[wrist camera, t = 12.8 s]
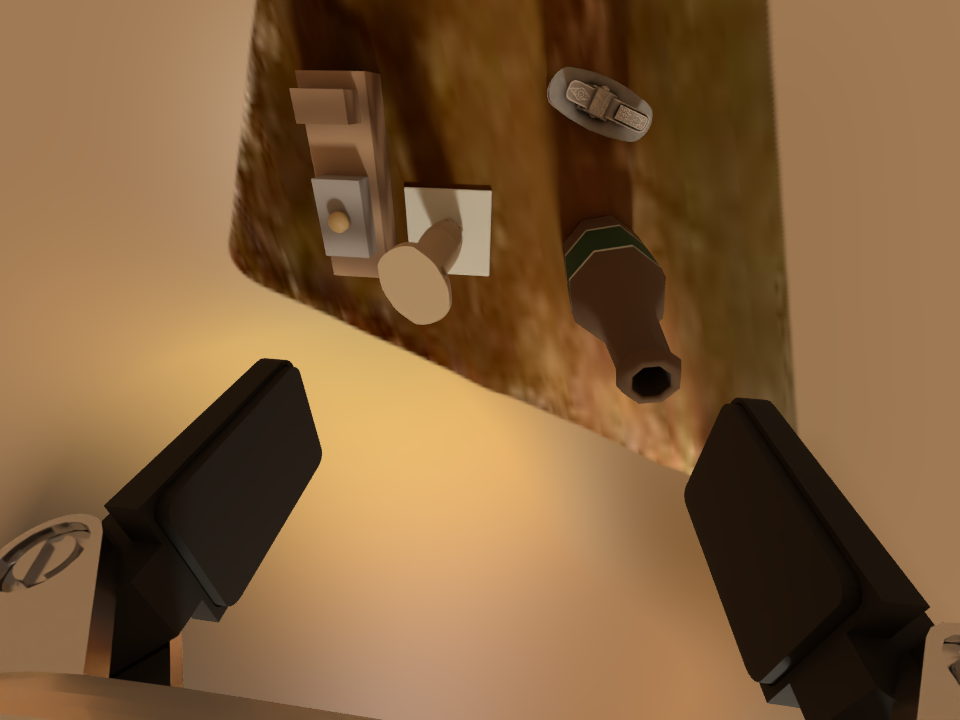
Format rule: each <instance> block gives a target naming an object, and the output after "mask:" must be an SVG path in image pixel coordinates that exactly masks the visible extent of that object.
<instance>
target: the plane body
mask: <svg viewBox="0 0 960 720" xmlns="http://www.w3.org/2000/svg"><path fill="white" fill-rule="evenodd" d="M295 73H296V78H297V83H298V88H289V89H290V94H291V99H292V103H293V108H294V113H295V118H296V123H297V124H305V125H306V130H307V135H308V140H309V146H310V151H311V156H312V161H313V166H314V172H315V178H312V179H311V180H312V185H313V190H314V195H315V200H316V206H317V211H318V216H319V221H320V226H321V231H322V236H323V241H324V246H325V251H326V256H331V260H332V265H333V270H334V275H343V276H359V277H375V278H379V272H378V266H377V265H378V263H379V261H380V259H381V258H382V256H383V255H384V254H385V253H386V252H387V251H389V250H390V249H391V248H393V247H394V246H396V245H397V241H396V230H395V220H394V210H393V200H392V190H391V179H390V169H389V159H388V149H387V139H386V128H385V118H384V108H383V98H382V88H381V77H380V74H379V73H373V72H367V71H323V70H295Z"/></svg>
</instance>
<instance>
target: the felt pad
mask: <svg viewBox="0 0 960 720" xmlns="http://www.w3.org/2000/svg"><path fill="white" fill-rule="evenodd" d="M404 191H405V203H406V216H407V228H408V240H409V242H415V243H418V241H419V240H420V238H421V236H422V235H423V234H424V232H425V231H426V230H427V229H428V228H429V227H431V226H432V225H433V224H435V223H437V222H440V221H443V220H444V219H445V218H451V220H452V221H453V222H455V223H457V224H460V225H461V226H462V228H463V232H462V238H463V241H462V248H461V252H460V254H459V257H458V259H457V261H456V262H455V264H454V265H453V267H452V268H451V269H450V271H449V272H448V273H447V274H460V275H477V276H489V268H490V236H491V204H492V190H470V189H446V188H422V187H404Z"/></svg>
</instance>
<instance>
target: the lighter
mask: <svg viewBox="0 0 960 720" xmlns="http://www.w3.org/2000/svg"><path fill="white" fill-rule="evenodd" d="M547 98H548V101H549V103H550V104H551V105H552V106H553V107H554V108H555V109H557V110H558V111H559V112H561V113H562V114H563V115H564V116H566V117H568V118H569V119H571V120H572V121H574V122H576V123H578V124H579V125H581V126H583V127H585V128H586V129H588V130H590V131H593V132H595V133H598V134H601V135H603V136H606V137H609V138H613V139H618V140H623V141H627V142H634V141H636V140H639V139H640V138H641V137H642V136H644V135H645V133H646V132H647V131H648V129H649V127H650V125H651V122H652V110H651V108H650V106H649V105H648V104H647V103H646V102H645V101H644V100H642V99H641V98H640V97H639V96H638V95H636V94H635V93H634V92H633V91H632V90H630V89H628V88H627V87H625V86H623V85H622V84H620V83H618V82H617V81H615V80H613V79H611V78H608V77H606V76H603V75H601V74H598V73H595V72H593V71H589V70H584V69H580V68H575V67H564V68H562V69H561V70H559V71H558V72H557V73H556V74H555V75H554V77H553V78H552V79H551V81H550V83H549V85H548V89H547Z"/></svg>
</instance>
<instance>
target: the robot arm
mask: <svg viewBox="0 0 960 720" xmlns="http://www.w3.org/2000/svg"><path fill="white" fill-rule="evenodd" d="M321 457H322V449H321V445H320V442H319V439H318V435H317V431H316V428H315V424H314V421H313V417H312V414H311V410H310V406H309V403H308V399H307V396H306V392H305V389H304V385H303V382H302V378H301V374H300V372H299V370H298V369H297V368H296V367H293V365H292V363H291V362H290V361H288V360H279V359H266V358H264V359H260V360H259V361H257V362H256V363H255V364H254V365H253V366H252V367H251V368H250V369H249V370H248V371H247V372H246V373H244V375H242V376H241V377H240V378H239V379H238V380H237V381H236V382H235V383H234V384H233V385H232V386H231V387H230V388H229V389H228V390H227V391H225V392H224V393H223V394H222V395H221V396H220V397H219V398H218V399H217V400H216V401H215V402H214V403H213V404H212V405H211V406H209V407H208V408H207V409H206V410H205V411H204V412H203V413H202V414H201V415H200V416H199V417H198V418H197V419H196V420H194V422H192V423H191V424H190V425H189V426H188V427H187V428H186V429H185V430H184V431H183V432H182V433H181V434H180V435H179V436H177V437H176V438H175V439H174V440H173V441H172V442H171V443H170V444H169V445H168V446H167V447H166V448H165V449H164V450H163V451H162V452H161V453H159V454H158V455H157V456H156V457H155V458H154V459H153V460H152V461H151V462H150V463H149V464H148V465H147V466H146V467H145V468H143V469H142V470H141V471H140V472H139V473H138V474H137V475H136V476H135V477H134V478H133V479H132V480H131V481H130V482H129V483H127V484H126V485H125V486H124V487H123V488H122V489H121V490H120V491H119V492H118V493H117V494H116V495H115V496H114V497H113V498H112V499H110V500H109V501H108V502H107V503H106V504H105V505H104V507H105V508H106V509H107V510H108V512H109V513H110V514H109V515H108V516H107V517H106V518H105V519H104V520H103V521H102V522H101V521H100V520H98V518H96V517H95V516H92V515H88V514H73V515H67V516H63V517H59V518H56V519H52V520H50V521H47V522H45V523H43V524H41V525H38V526H36V527H34V528H32V529H31V530H29V531H27V532H25V533H23V534H22V535H20V536H19V537H17V538H15V539H14V540H12V541H11V542H10V543H9V544H7V545H6V546H5V547H3V548H2V549H1V550H0V720H379V719H373V718H367V717H361V716H355V715H349V714H343V713H337V712H330V711H324V710H318V709H312V708H305V707H299V706H292V705H286V704H280V703H273V702H267V701H261V700H255V699H249V698H242V697H236V696H230V695H223V694H217V693H211V692H205V691H198V690H192V689H185V688H184V686H183V685H184V684H183V658H182V629H183V628H184V626H185V625H186V623H187V622H188V620H189V619H190V617H192V618H193V619H200V620H206V621H213V622H219V621H220V619H221V617H222V615H223V614H224V613H225V611H226V609H227V607H228V606H232V605H234V604H235V603H236V602H237V601H238V600H239V599H240V597H241V596H242V594H243V592H244V591H245V589H246V587H247V586H248V584H249V582H250V581H251V579H252V577H253V575H254V574H255V572H256V570H257V569H258V567H259V565H260V564H261V562H262V560H263V559H264V557H265V555H266V553H267V552H268V550H269V549H270V547H271V545H272V544H273V542H274V540H275V538H276V537H277V535H278V533H279V532H280V530H281V528H282V527H283V525H284V523H285V522H286V520H287V518H288V516H289V515H290V513H291V511H292V510H293V508H294V507H295V505H296V503H297V501H298V500H299V498H300V496H301V495H302V493H303V491H304V490H305V488H306V486H307V485H308V483H309V481H310V480H311V478H312V476H313V475H314V473H315V471H316V469H317V468H318V466H319V464H320V461H321ZM684 497H685V503H686V506H687V509H688V512H689V514H690V517H691V520H692V523H693V526H694V528H695V531H696V534H697V536H698V539H699V542H700V545H701V547H702V550H703V553H704V555H705V558H706V561H707V564H708V566H709V569H710V572H711V575H712V577H713V580H714V583H715V585H716V588H717V591H718V594H719V596H720V599H721V602H722V604H723V607H724V610H725V612H726V615H727V618H728V620H729V623H730V626H731V629H732V632H733V634H734V637H735V640H736V643H737V645H738V648H739V651H740V653H741V656H742V659H743V662H744V664H745V667H746V669H747V671H748V673H749V675H750V676H751V678H752V679H753V680H754V681H756V682H759V683H760V686H761V688H762V691H763V693H764V696H765V699H766V701H767V703H770V704H777V705H784V706H790V707H797V708H800V709H801V711H802V713H803V716H804V718H805V720H960V623H944V622H942V623H940V624H937V625H934V624H933V623H932V621H931V620H930V618H929V617H928V616H927V614H926V613H925V611H926V610H927V609H928V608H930V606H929V605H928V603H927V602H926V601H925V600H924V598H923V597H922V596H921V594H920V593H919V592H918V591H917V589H916V588H915V587H914V585H913V584H912V583H911V582H910V580H909V579H908V578H907V576H906V575H905V574H904V572H903V571H902V570H901V569H900V567H899V566H898V565H897V564H896V562H895V561H894V560H893V558H892V557H891V556H890V555H889V553H888V552H887V551H886V549H885V548H884V547H883V545H882V544H881V543H880V541H879V540H878V539H877V538H876V536H875V535H874V534H873V532H872V531H871V530H870V529H869V527H868V526H867V525H866V524H865V522H864V521H863V520H862V518H861V517H860V516H859V515H858V513H857V512H856V511H855V509H854V508H853V507H852V505H851V504H850V503H849V502H848V500H847V499H846V498H845V496H844V495H843V494H842V492H841V491H840V490H839V489H838V487H837V486H836V485H835V484H834V482H833V481H832V480H831V478H830V477H829V476H828V475H827V473H826V472H825V471H824V469H823V468H822V467H821V465H820V464H819V463H818V462H817V460H816V459H815V458H814V456H813V455H812V454H811V452H810V451H809V450H808V449H807V447H806V446H805V445H804V443H803V442H802V441H801V439H800V438H799V437H798V436H797V434H796V433H795V432H794V430H793V429H792V428H791V427H790V425H789V424H788V423H787V421H786V420H785V419H784V418H783V416H782V415H781V414H780V412H779V411H778V410H777V409H776V407H775V406H774V405H773V404H772V403H771V402H770V401H768V400H761V399H749V398H735V399H734V400H733V401H732V402H731V403H730V404H725V405H724V406H723V407H722V408H721V410H720V413H719V415H718V417H717V419H716V421H715V424H714V426H713V428H712V430H711V432H710V435H709V437H708V439H707V441H706V443H705V446H704V448H703V450H702V452H701V454H700V457H699V459H698V461H697V463H696V465H695V468H694V470H693V472H692V474H691V476H690V479H689V481H688V483H687V485H686V488H685V494H684Z"/></svg>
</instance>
